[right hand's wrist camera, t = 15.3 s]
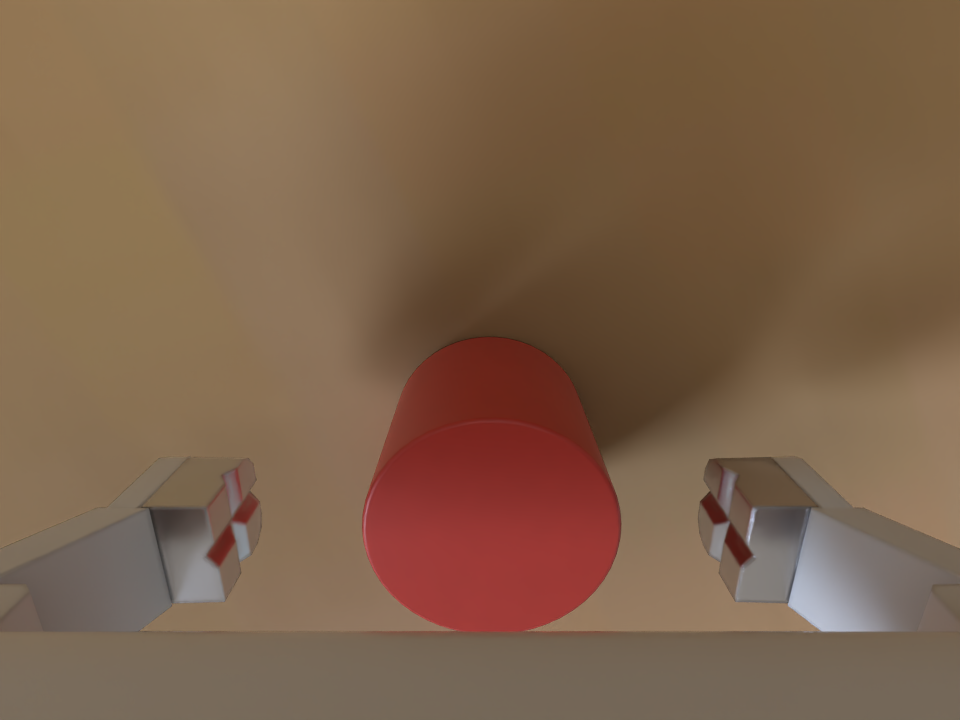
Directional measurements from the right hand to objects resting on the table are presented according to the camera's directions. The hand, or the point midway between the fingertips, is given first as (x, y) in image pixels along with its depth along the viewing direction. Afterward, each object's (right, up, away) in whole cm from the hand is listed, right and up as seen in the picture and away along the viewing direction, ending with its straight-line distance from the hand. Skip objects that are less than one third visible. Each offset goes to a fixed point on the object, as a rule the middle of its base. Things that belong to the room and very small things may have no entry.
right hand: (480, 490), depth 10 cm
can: (0, +1, +3) cm, 3 cm away
